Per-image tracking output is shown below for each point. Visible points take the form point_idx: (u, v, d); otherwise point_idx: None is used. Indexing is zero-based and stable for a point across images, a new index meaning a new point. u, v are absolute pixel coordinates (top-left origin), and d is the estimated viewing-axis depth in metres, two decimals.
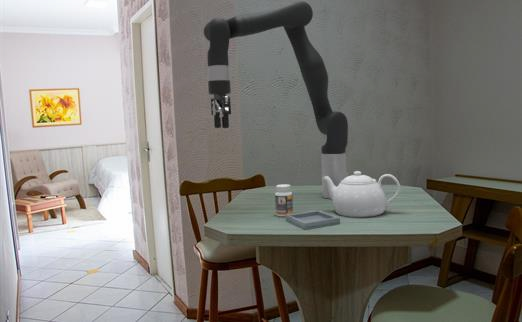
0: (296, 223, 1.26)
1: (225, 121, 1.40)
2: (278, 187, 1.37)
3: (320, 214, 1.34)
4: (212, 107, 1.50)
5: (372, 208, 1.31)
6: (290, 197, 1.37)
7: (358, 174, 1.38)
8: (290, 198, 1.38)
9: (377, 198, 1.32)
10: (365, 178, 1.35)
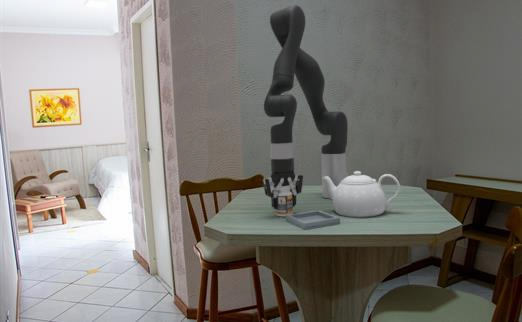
0: (296, 223, 1.26)
1: None
2: None
3: (320, 214, 1.34)
4: None
5: (372, 208, 1.31)
6: (290, 197, 1.37)
7: (358, 174, 1.38)
8: (290, 198, 1.38)
9: (377, 198, 1.32)
10: (365, 178, 1.35)
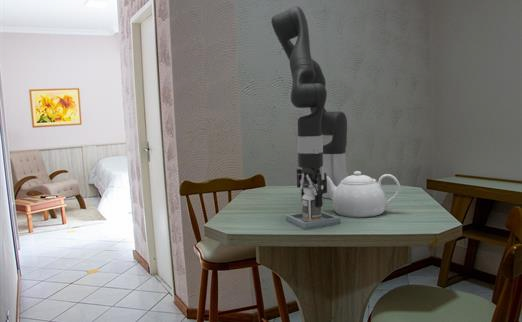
0: (296, 223, 1.26)
1: None
2: (317, 189, 1.27)
3: None
4: None
5: (372, 208, 1.31)
6: None
7: (358, 174, 1.38)
8: None
9: (377, 198, 1.32)
10: (365, 178, 1.35)
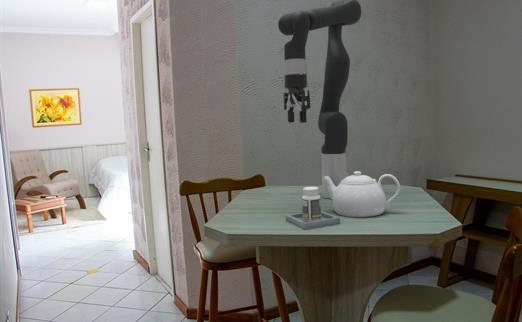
0: (296, 223, 1.26)
1: None
2: (316, 189, 1.27)
3: None
4: None
5: (372, 208, 1.31)
6: None
7: (358, 174, 1.38)
8: None
9: (377, 198, 1.32)
10: (365, 178, 1.35)
